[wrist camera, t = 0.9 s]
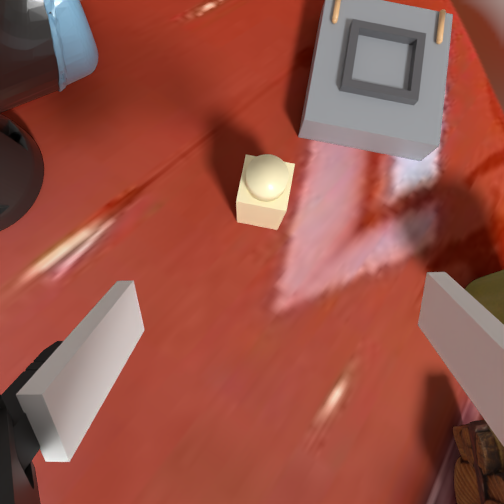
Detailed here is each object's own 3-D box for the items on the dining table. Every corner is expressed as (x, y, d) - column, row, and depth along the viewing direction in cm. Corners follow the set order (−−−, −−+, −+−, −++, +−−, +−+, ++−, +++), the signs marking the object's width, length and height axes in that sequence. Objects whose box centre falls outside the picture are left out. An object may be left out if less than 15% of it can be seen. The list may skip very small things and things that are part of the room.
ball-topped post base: (298, 136, 42) (305, 114, 37) (319, 17, 45) (329, -19, 40) (420, 160, 42) (444, 141, 37) (434, 39, 45) (458, 7, 40)
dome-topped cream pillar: (236, 221, 40) (235, 194, 30) (244, 183, 41) (246, 144, 31) (277, 229, 40) (289, 204, 30) (284, 191, 41) (298, 154, 31)
